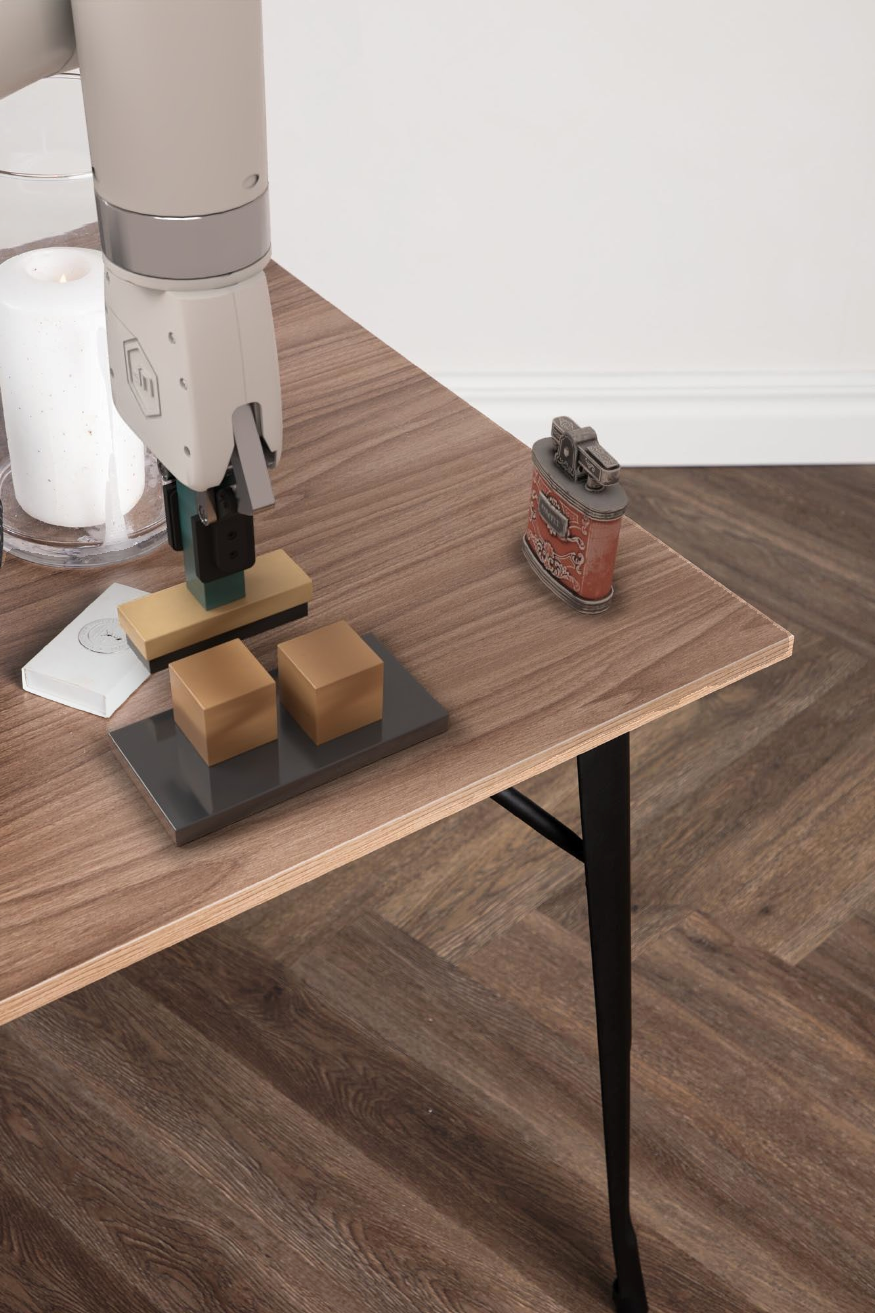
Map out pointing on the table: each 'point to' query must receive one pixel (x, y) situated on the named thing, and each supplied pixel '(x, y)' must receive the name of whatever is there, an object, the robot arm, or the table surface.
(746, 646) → the table surface
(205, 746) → the tan wooden cube
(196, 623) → the rubber stamp
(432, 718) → the board
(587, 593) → the lighter
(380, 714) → the brown cube
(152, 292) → the robot arm
